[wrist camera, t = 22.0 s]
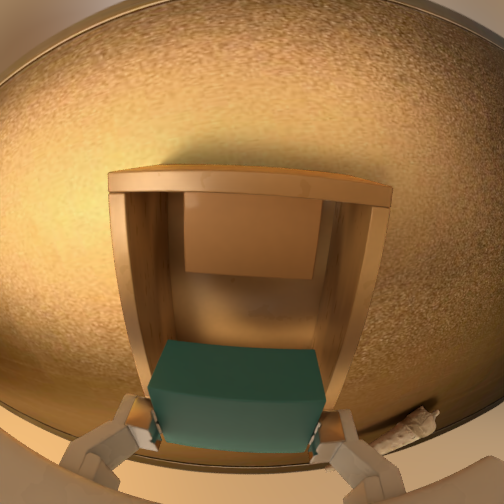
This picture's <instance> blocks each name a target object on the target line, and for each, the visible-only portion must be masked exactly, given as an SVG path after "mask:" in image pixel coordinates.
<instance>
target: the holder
mask: <svg viewBox="0 0 504 504" xmlns="http://www.w3.org/2000/svg"><path fill="white" fill-rule="evenodd" d="M108 191H109V192H110V193H109V195H108V196H109V214H110V226H111V237H112V246H113V255H114V263H115V270H116V276H117V283H118V289H119V294H120V300H121V305H122V310H123V315H124V320H125V324H126V329H127V333H128V337H129V342H130V346H131V349H132V353H133V357H134V361H135V364H136V368H137V371H138V375H139V378H140V381H141V385H142V388H143V391H144V394H145V397H146V398H149V399H150V396H149V393H148V389H147V386H148V384H149V381H150V379H151V377H152V374H153V372H154V370H155V367H156V365H157V363H158V361H159V358H160V356H161V354H162V351H163V349H164V347H165V345H166V343H167V340H177V341H185V342H193V343H202V344H212V345H223V346H236V347H251V348H272V349H314V350H315V352H316V356H317V361H318V365H319V369H320V374H321V378H322V382H323V387H324V391H325V396H326V400H327V401H326V403H325V406H324V408H323V411H331V410H333V408H334V406H335V403H336V401H337V399H338V396H339V394H340V392H341V389H342V387H343V384H344V381H345V379H346V376H347V374H348V371H349V368H350V366H351V363H352V360H353V357H354V354H355V351H356V349H357V346H358V343H359V340H360V336H361V333H362V330H363V327H364V324H365V320H366V317H367V314H368V310H369V306H370V303H371V299H372V295H373V292H374V288H375V284H376V280H377V276H378V271H379V267H380V262H381V258H382V253H383V248H384V243H385V238H386V232H387V227H388V221H389V215H390V208H389V207H391V200H392V193H393V188H392V187H391V186H387V185H384V184H380V183H377V182H373V181H369V180H366V179H362V178H358V177H354V176H350V175H345V174H337V173H329V172H321V171H311V170H301V169H290V168H278V167H263V166H245V165H215V164H166V165H152V166H145V167H138V168H131V169H125V170H118V171H112V172H109V173H108ZM184 192H198V193H227V194H248V195H265V196H280V197H293V198H305V199H316V200H323V207H322V216H321V224H320V232H319V240H318V247H317V254H316V261H315V268H314V275H313V279H312V280H304V279H284V278H266V277H250V276H234V275H219V274H205V273H192V272H186V271H185V257H184Z"/></svg>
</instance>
